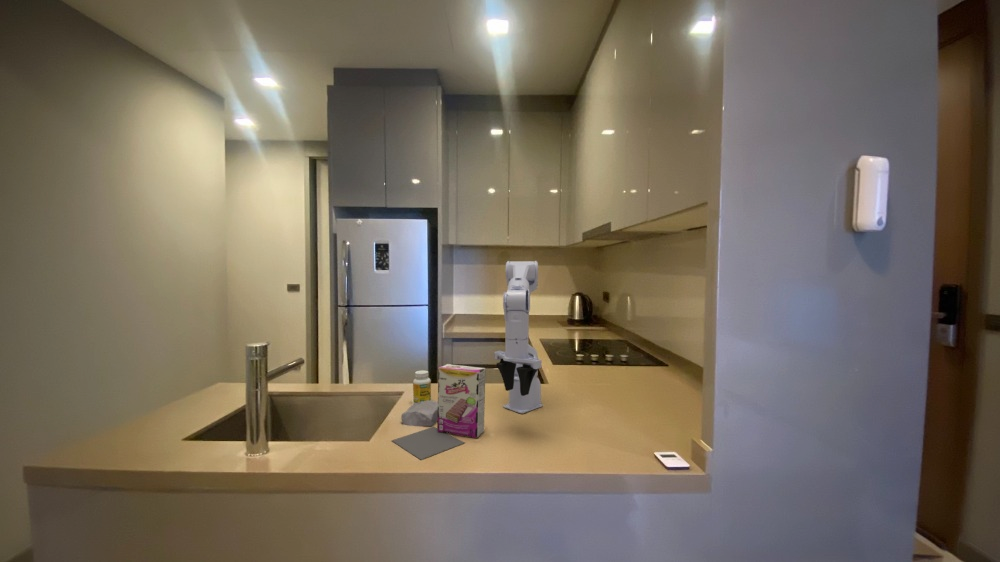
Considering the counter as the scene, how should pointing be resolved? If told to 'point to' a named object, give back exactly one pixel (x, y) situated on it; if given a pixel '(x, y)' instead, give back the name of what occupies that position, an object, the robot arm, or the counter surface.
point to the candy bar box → (461, 400)
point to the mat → (427, 443)
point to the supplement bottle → (421, 387)
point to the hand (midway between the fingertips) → (516, 392)
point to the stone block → (421, 414)
